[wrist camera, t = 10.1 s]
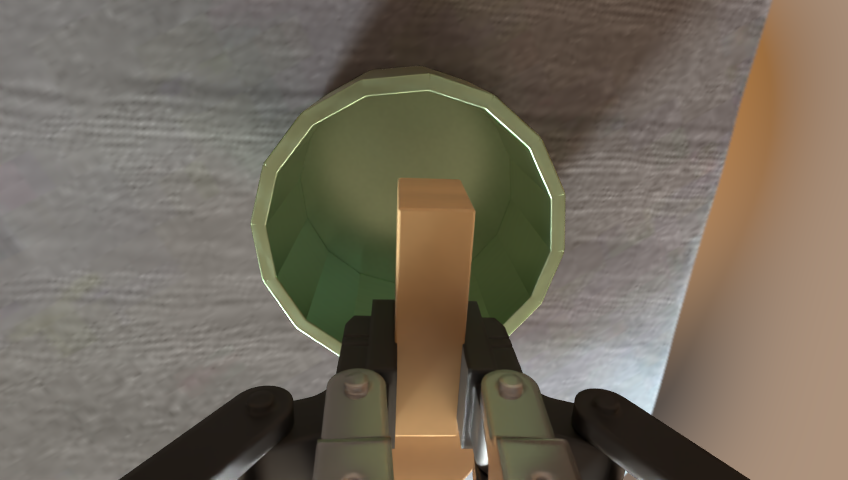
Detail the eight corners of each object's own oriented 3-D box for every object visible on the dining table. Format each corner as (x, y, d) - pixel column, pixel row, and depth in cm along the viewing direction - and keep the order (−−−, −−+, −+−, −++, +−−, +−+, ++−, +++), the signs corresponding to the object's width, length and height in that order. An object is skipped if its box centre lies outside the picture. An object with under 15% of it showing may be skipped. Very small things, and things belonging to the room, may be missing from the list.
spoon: (358, 175, 14) (348, 206, 11) (499, 180, 14) (524, 211, 11) (358, 468, 17) (352, 544, 14) (471, 467, 17) (484, 542, 15)
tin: (246, 138, 31) (186, 175, 22) (459, 20, 29) (487, 9, 20) (364, 321, 36) (354, 411, 27) (553, 229, 34) (608, 293, 25)
